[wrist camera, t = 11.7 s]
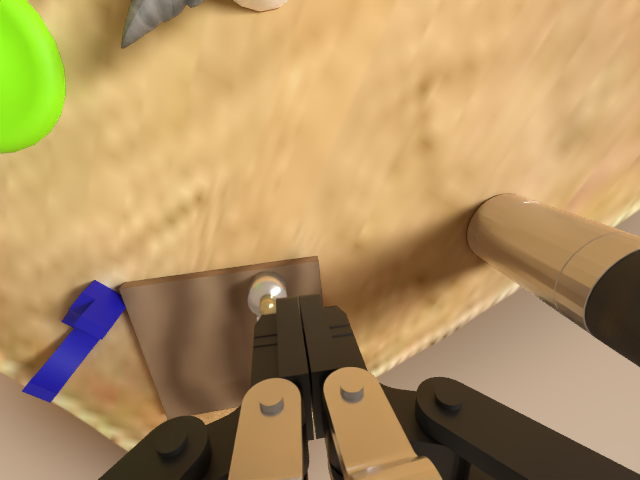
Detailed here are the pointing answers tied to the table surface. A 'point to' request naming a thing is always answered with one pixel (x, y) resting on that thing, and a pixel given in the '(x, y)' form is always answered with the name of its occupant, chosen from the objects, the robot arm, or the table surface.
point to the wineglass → (27, 77)
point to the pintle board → (205, 331)
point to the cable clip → (78, 338)
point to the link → (265, 293)
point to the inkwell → (171, 14)
